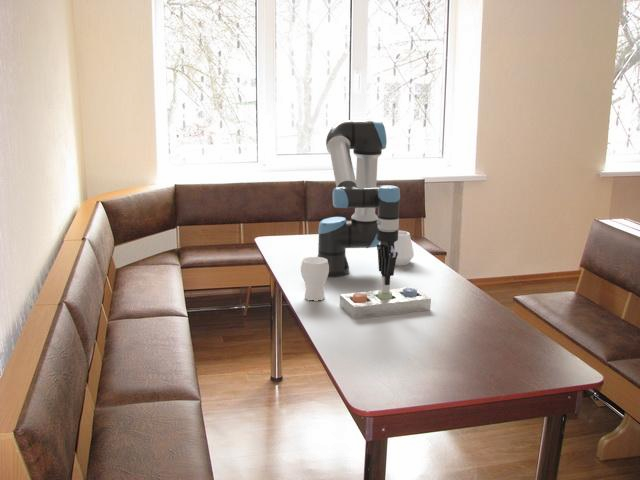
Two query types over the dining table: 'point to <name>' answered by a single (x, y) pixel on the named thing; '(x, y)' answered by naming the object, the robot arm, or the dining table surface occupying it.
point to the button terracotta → (359, 298)
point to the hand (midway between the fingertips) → (385, 292)
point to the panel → (384, 304)
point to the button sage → (384, 295)
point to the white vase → (403, 248)
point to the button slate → (409, 292)
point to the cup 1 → (314, 277)
